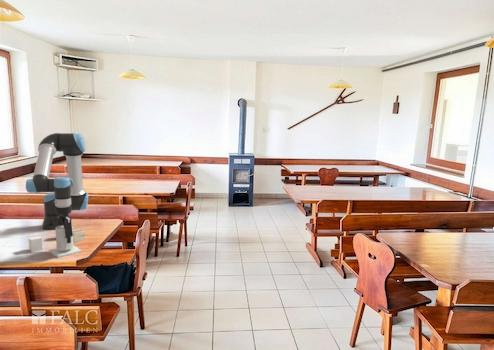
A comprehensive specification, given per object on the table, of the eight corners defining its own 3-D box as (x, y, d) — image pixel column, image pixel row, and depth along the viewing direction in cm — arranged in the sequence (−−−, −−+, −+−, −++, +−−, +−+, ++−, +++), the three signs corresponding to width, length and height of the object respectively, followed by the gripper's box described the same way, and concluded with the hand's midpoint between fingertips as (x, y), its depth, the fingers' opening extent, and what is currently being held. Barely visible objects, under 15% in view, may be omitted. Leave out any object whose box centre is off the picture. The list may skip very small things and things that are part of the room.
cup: (66, 251, 170) (65, 229, 168) (53, 249, 171) (51, 228, 170) (77, 245, 178) (76, 225, 176) (64, 244, 179) (63, 223, 178)
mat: (49, 251, 174) (49, 250, 174) (72, 246, 183) (72, 244, 183) (57, 258, 167) (57, 256, 166) (81, 251, 176) (81, 250, 176)
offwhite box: (29, 250, 176) (28, 237, 175) (39, 247, 180) (38, 235, 179) (32, 252, 173) (31, 240, 172) (42, 250, 177) (41, 237, 176)
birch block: (70, 240, 193) (69, 230, 192) (80, 238, 197) (80, 228, 196) (74, 243, 189) (74, 233, 188) (84, 240, 193) (84, 231, 192)
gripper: (48, 203, 175) (50, 243, 178) (63, 210, 162) (65, 253, 165) (63, 201, 181) (65, 239, 184) (78, 208, 168) (80, 249, 171)
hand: (65, 246), depth 175 cm, fingers closed on cup, 8 cm apart
